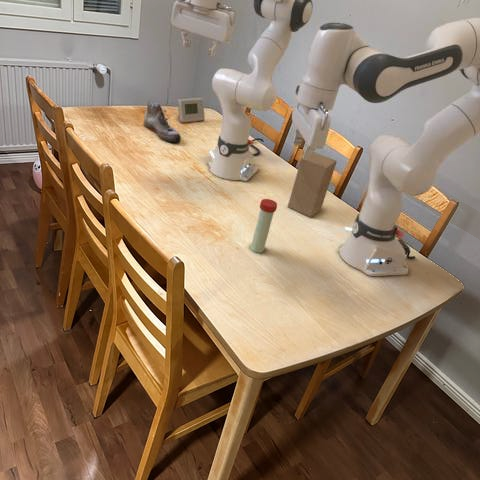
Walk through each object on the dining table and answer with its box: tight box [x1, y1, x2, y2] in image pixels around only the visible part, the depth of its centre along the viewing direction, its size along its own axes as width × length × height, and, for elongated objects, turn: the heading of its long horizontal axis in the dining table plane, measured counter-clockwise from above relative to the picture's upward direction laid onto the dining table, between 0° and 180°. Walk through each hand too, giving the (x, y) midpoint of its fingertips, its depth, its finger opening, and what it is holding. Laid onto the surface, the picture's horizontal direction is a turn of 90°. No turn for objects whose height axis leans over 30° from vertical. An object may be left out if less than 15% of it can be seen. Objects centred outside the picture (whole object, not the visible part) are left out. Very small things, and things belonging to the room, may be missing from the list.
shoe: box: [143, 101, 181, 144], centre depth 198 cm, size 25×11×12 cm, turn 30°
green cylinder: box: [250, 208, 275, 254], centre depth 132 cm, size 4×4×16 cm
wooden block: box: [287, 151, 338, 218], centre depth 160 cm, size 10×10×20 cm
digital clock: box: [177, 97, 206, 124], centre depth 221 cm, size 16×9×11 cm, turn 123°
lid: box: [259, 198, 278, 213], centre depth 128 cm, size 5×5×2 cm
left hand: (198, 51), depth 131 cm, fingers open, 8 cm apart
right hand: (300, 151), depth 112 cm, fingers open, 8 cm apart
